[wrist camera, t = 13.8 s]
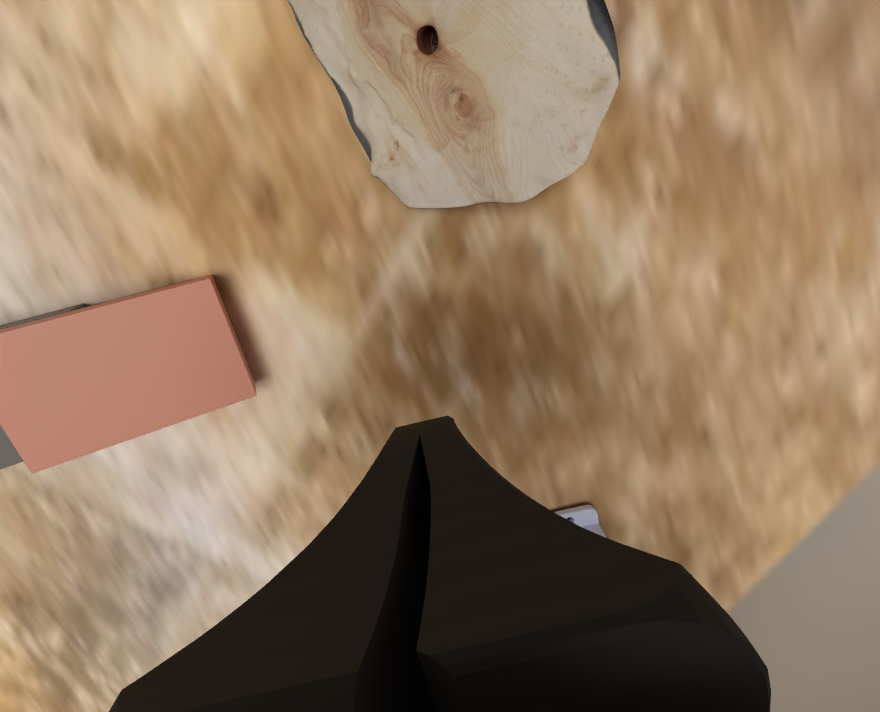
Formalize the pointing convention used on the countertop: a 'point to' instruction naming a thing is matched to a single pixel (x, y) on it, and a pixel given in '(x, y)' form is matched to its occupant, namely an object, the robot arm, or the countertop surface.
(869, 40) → the countertop surface
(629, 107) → the countertop surface
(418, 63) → the wooden slab
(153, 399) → the loose domino
